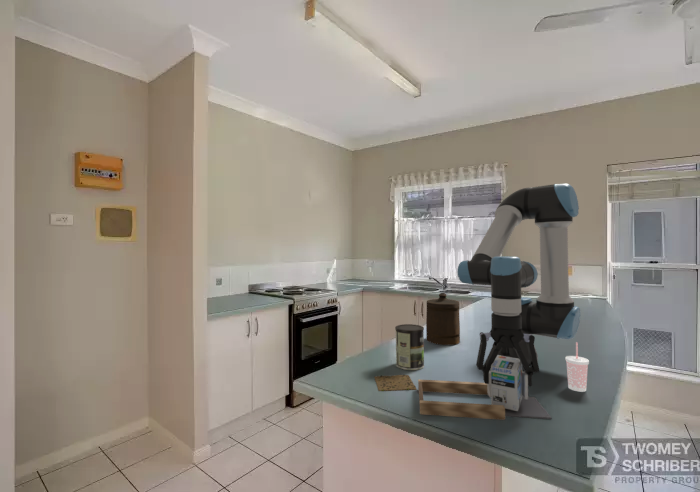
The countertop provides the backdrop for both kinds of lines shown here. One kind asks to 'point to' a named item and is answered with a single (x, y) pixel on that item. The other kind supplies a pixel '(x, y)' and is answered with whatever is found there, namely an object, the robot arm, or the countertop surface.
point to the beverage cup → (577, 372)
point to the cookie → (394, 383)
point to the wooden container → (443, 321)
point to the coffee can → (409, 347)
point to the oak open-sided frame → (454, 407)
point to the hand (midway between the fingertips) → (507, 396)
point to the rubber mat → (529, 409)
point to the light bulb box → (506, 382)
